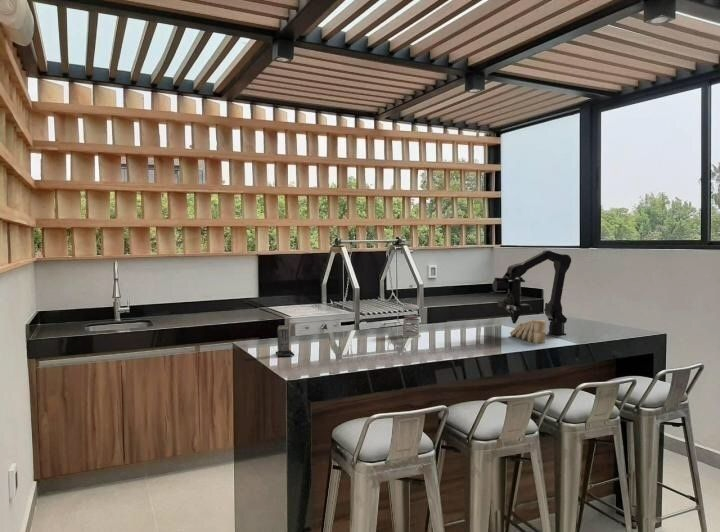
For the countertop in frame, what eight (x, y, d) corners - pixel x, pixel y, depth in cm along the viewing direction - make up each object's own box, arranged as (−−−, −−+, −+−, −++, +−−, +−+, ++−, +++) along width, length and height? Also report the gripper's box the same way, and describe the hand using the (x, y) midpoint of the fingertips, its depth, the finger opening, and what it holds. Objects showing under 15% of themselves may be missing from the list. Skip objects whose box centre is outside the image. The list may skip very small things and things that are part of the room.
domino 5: (542, 341, 252) (543, 320, 251) (545, 342, 251) (546, 321, 250) (533, 342, 251) (534, 320, 250) (535, 343, 249) (536, 321, 248)
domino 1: (518, 332, 269) (529, 323, 261) (519, 335, 268) (530, 326, 260) (509, 333, 268) (520, 323, 260) (511, 336, 267) (521, 327, 259)
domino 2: (524, 334, 265) (534, 322, 258) (525, 337, 264) (535, 325, 257) (515, 334, 263) (524, 322, 256) (517, 338, 262) (526, 325, 255)
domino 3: (530, 336, 261) (537, 320, 255) (532, 339, 260) (539, 323, 254) (521, 337, 259) (528, 321, 253) (523, 339, 258) (530, 324, 252)
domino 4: (536, 338, 257) (540, 319, 253) (538, 340, 255) (543, 321, 251) (527, 339, 255) (531, 320, 251) (529, 341, 253) (534, 322, 250)
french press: (422, 337, 264) (422, 285, 262) (397, 337, 264) (397, 285, 263) (420, 334, 274) (420, 283, 272) (396, 334, 274) (397, 283, 273)
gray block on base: (272, 354, 228) (271, 324, 227) (290, 352, 231) (289, 323, 231) (279, 358, 219) (279, 328, 219) (298, 356, 223) (297, 326, 222)
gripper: (489, 290, 274) (489, 321, 275) (511, 293, 256) (511, 327, 257) (508, 289, 277) (508, 320, 278) (531, 293, 260) (531, 325, 261)
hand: (514, 323), depth 268 cm, fingers closed
